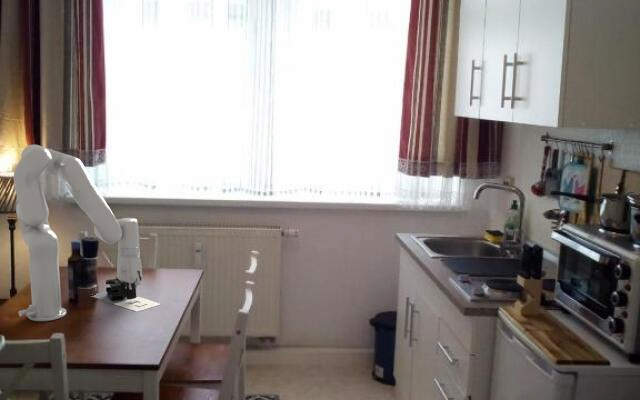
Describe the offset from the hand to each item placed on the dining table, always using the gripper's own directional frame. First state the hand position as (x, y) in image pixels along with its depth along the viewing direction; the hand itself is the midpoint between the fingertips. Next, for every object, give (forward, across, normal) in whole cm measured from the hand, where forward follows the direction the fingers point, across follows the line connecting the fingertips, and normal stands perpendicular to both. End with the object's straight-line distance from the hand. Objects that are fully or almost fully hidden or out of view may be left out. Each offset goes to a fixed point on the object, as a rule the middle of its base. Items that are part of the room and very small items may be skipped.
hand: (131, 298), depth 252 cm
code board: (+1, +4, 0) cm, 4 cm away
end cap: (+1, -8, 0) cm, 9 cm away
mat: (+1, -11, 0) cm, 11 cm away
